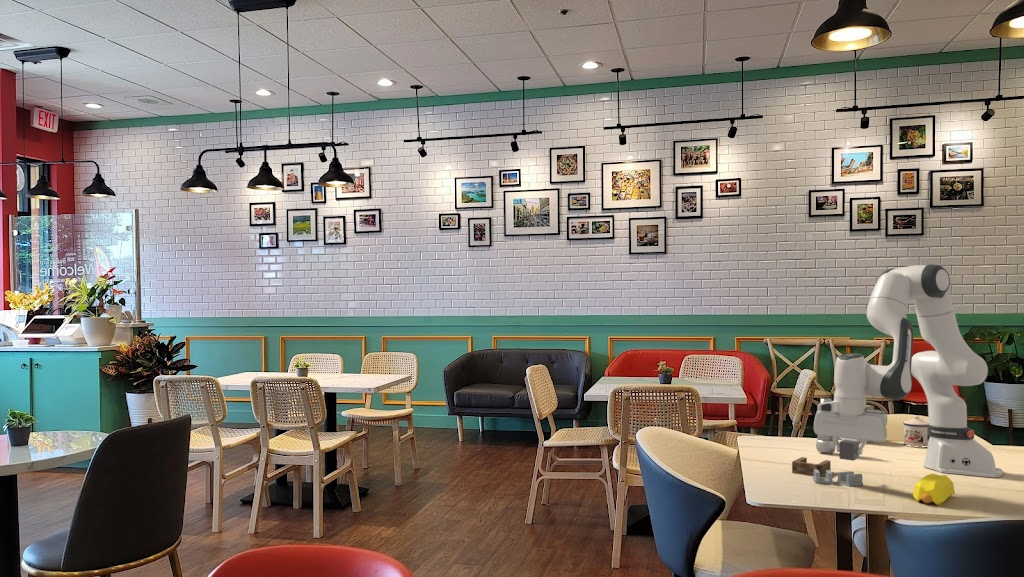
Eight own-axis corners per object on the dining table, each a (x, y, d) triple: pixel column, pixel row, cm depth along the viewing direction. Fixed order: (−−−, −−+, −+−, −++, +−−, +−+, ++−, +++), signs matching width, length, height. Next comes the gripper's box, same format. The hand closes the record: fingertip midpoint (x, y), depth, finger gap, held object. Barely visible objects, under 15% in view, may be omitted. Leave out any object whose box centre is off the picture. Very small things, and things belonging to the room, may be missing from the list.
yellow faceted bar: (957, 496, 207) (927, 492, 212) (957, 473, 207) (926, 468, 212) (941, 509, 194) (909, 503, 199) (941, 483, 194) (909, 478, 199)
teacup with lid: (899, 445, 286) (899, 415, 286) (908, 443, 292) (907, 413, 293) (933, 450, 277) (933, 419, 278) (941, 447, 284) (941, 417, 284)
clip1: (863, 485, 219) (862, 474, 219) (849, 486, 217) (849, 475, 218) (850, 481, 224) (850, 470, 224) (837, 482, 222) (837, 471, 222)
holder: (830, 471, 237) (830, 460, 237) (821, 476, 230) (821, 465, 230) (802, 467, 243) (802, 457, 243) (792, 472, 235) (792, 461, 235)
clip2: (830, 480, 224) (830, 470, 225) (833, 484, 220) (833, 473, 220) (812, 479, 226) (812, 469, 226) (815, 483, 221) (815, 472, 221)
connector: (862, 456, 225) (862, 439, 225) (853, 460, 217) (853, 443, 218) (848, 454, 228) (848, 438, 228) (839, 458, 220) (839, 442, 220)
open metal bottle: (818, 450, 273) (818, 397, 274) (837, 453, 269) (837, 398, 270) (814, 453, 268) (813, 398, 269) (833, 455, 264) (833, 400, 265)
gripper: (889, 409, 217) (889, 456, 217) (818, 403, 230) (818, 447, 230) (884, 411, 213) (884, 459, 212) (812, 404, 225) (811, 449, 225)
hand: (849, 453), depth 221 cm, fingers closed on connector, 4 cm apart
